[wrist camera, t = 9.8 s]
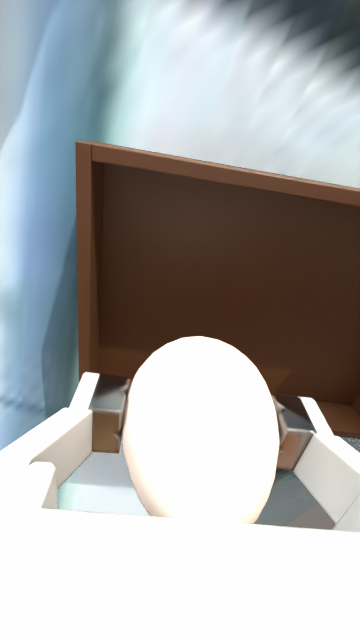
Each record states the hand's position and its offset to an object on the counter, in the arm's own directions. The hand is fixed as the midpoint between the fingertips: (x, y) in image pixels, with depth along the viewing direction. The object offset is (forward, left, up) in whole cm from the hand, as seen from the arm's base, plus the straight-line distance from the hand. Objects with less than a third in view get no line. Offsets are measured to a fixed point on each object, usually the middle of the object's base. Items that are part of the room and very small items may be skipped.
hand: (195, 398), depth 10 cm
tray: (-4, 0, -8) cm, 9 cm away
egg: (0, 0, -2) cm, 2 cm away
